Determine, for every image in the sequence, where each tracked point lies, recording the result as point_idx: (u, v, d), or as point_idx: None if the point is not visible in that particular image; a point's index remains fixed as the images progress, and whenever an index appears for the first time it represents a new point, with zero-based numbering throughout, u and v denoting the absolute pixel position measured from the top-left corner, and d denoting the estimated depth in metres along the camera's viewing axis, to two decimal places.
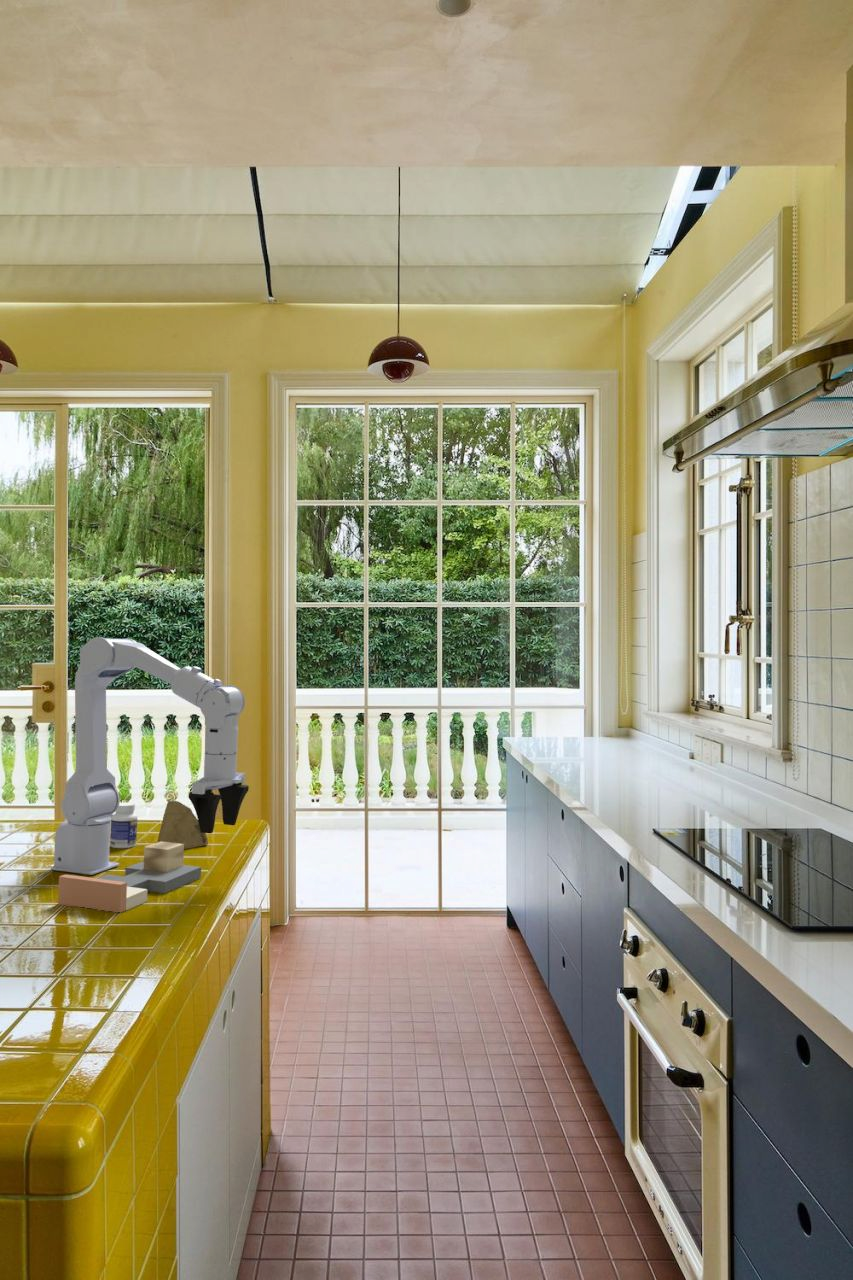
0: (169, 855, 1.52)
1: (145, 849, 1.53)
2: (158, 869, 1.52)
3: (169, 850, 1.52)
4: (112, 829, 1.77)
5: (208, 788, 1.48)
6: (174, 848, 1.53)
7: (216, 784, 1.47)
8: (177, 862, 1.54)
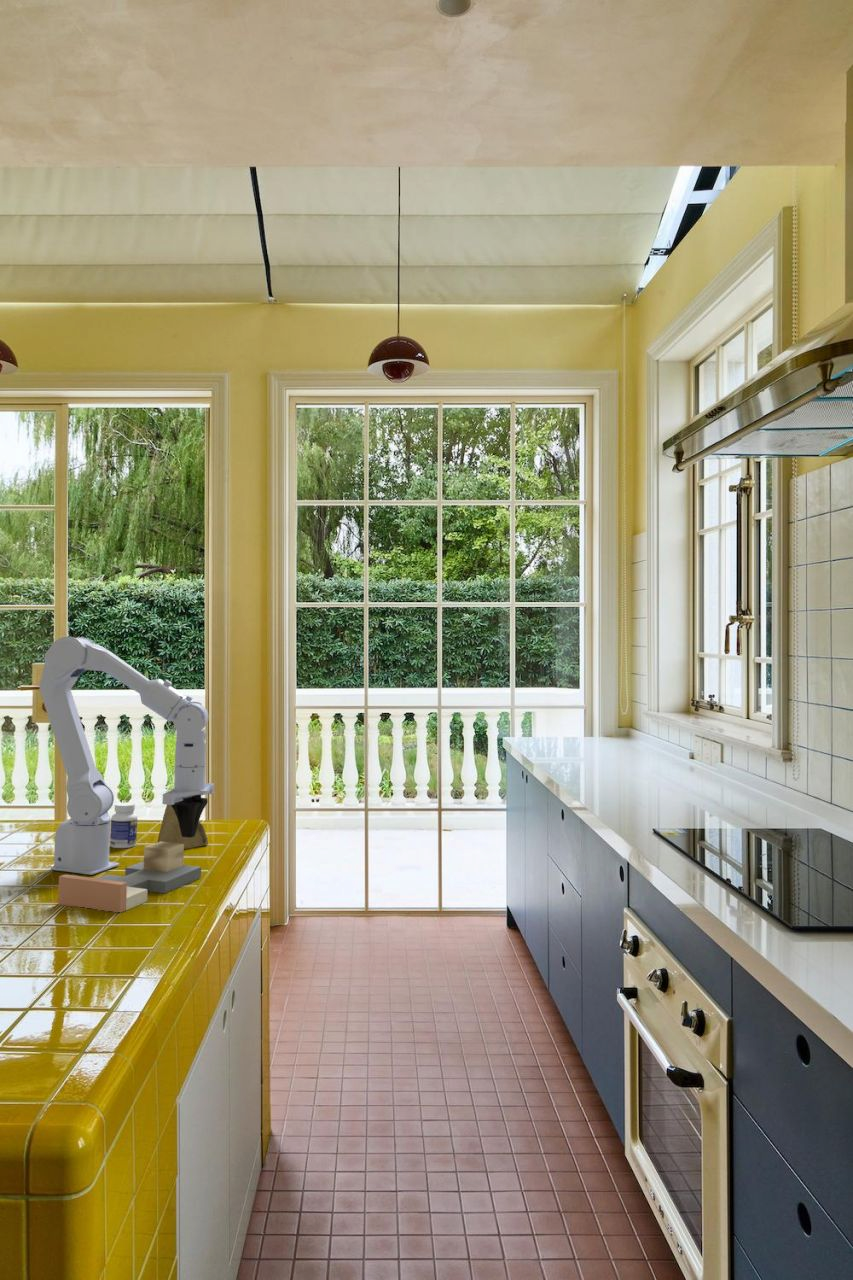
0: (169, 855, 1.52)
1: (145, 849, 1.53)
2: (158, 869, 1.52)
3: (169, 850, 1.52)
4: (112, 829, 1.77)
5: (178, 799, 1.58)
6: (174, 848, 1.53)
7: (185, 795, 1.57)
8: (177, 862, 1.54)
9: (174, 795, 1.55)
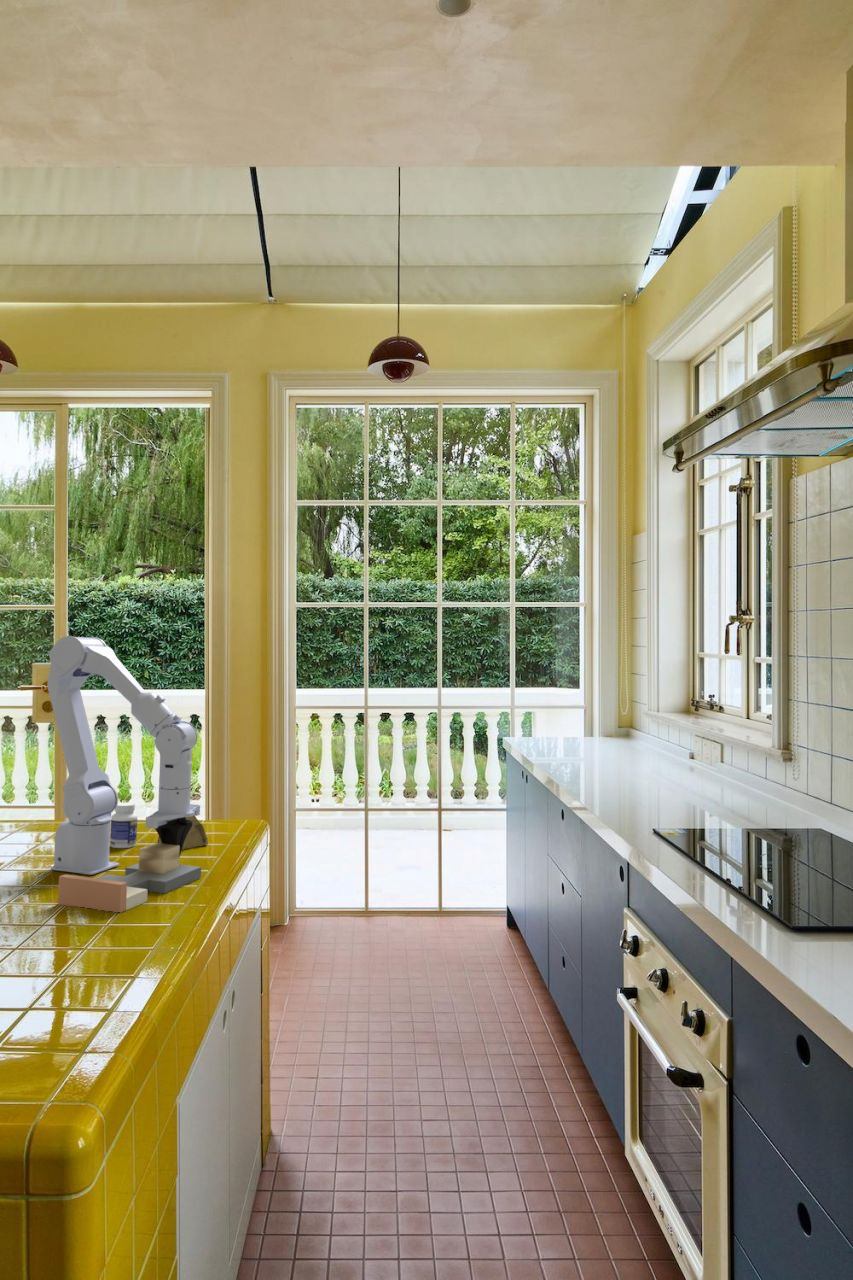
0: (164, 857, 1.50)
1: (140, 851, 1.52)
2: (153, 871, 1.51)
3: (164, 852, 1.51)
4: (112, 829, 1.77)
5: (161, 822, 1.53)
6: (170, 850, 1.52)
7: (169, 818, 1.53)
8: (172, 864, 1.53)
9: (157, 818, 1.51)
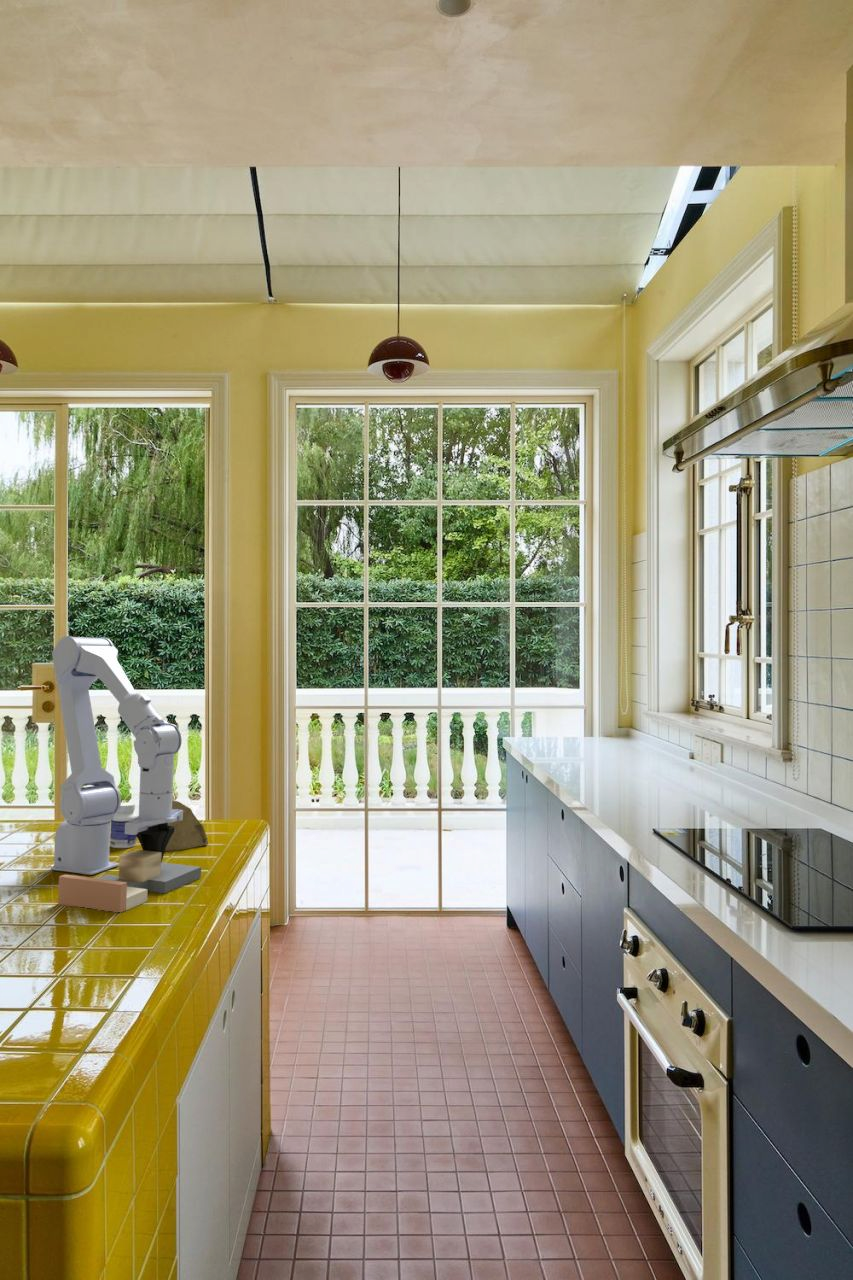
0: (145, 865, 1.45)
1: (120, 858, 1.46)
2: (134, 879, 1.45)
3: (145, 859, 1.45)
4: (112, 829, 1.77)
5: (141, 828, 1.48)
6: (151, 857, 1.47)
7: (149, 824, 1.47)
8: (154, 872, 1.47)
9: (137, 824, 1.45)
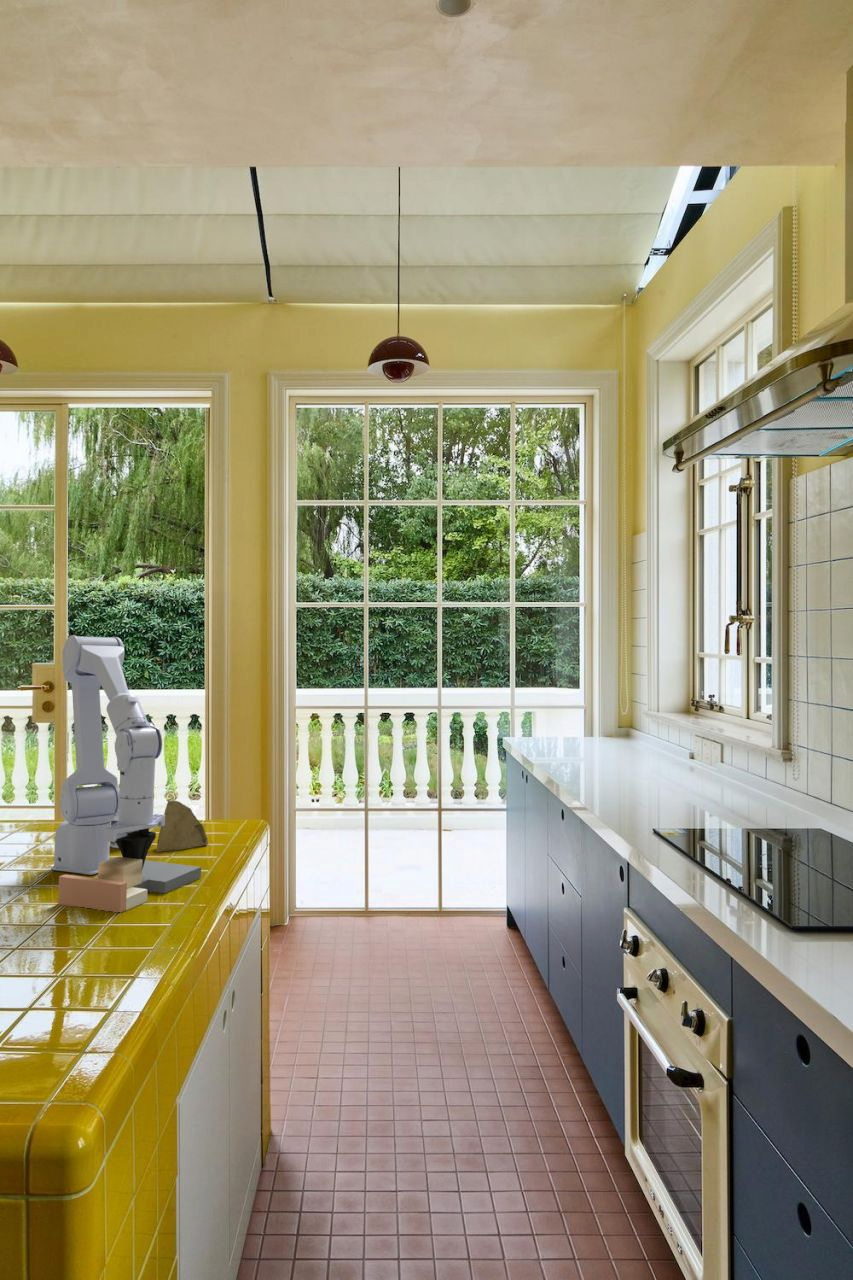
0: (125, 873, 1.40)
1: (99, 865, 1.41)
2: None
3: (125, 867, 1.40)
4: None
5: (121, 834, 1.42)
6: (131, 864, 1.41)
7: (129, 830, 1.42)
8: (134, 880, 1.42)
9: (116, 830, 1.40)
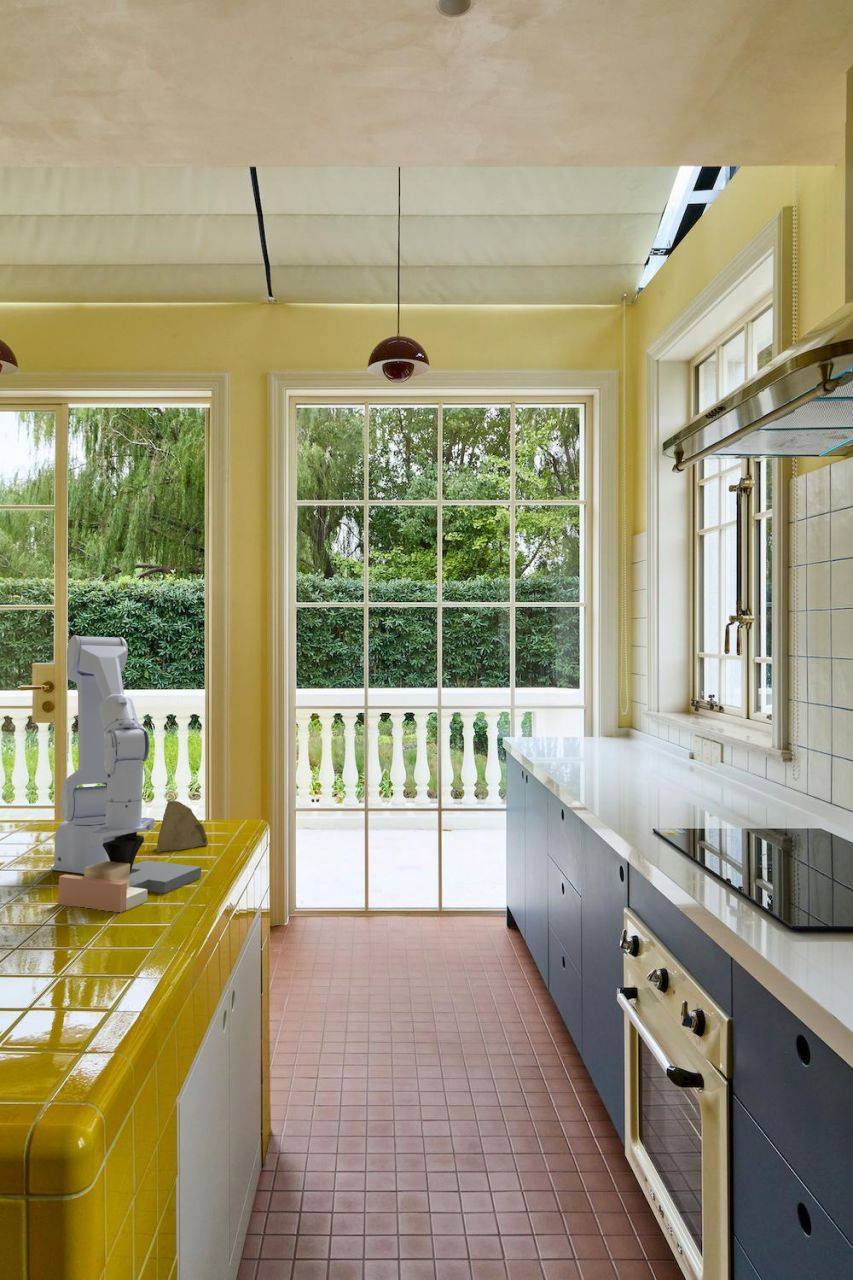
0: (111, 877, 1.36)
1: (86, 870, 1.38)
2: None
3: (112, 871, 1.37)
4: None
5: (108, 838, 1.39)
6: (118, 869, 1.38)
7: (116, 834, 1.39)
8: None
9: (103, 834, 1.37)
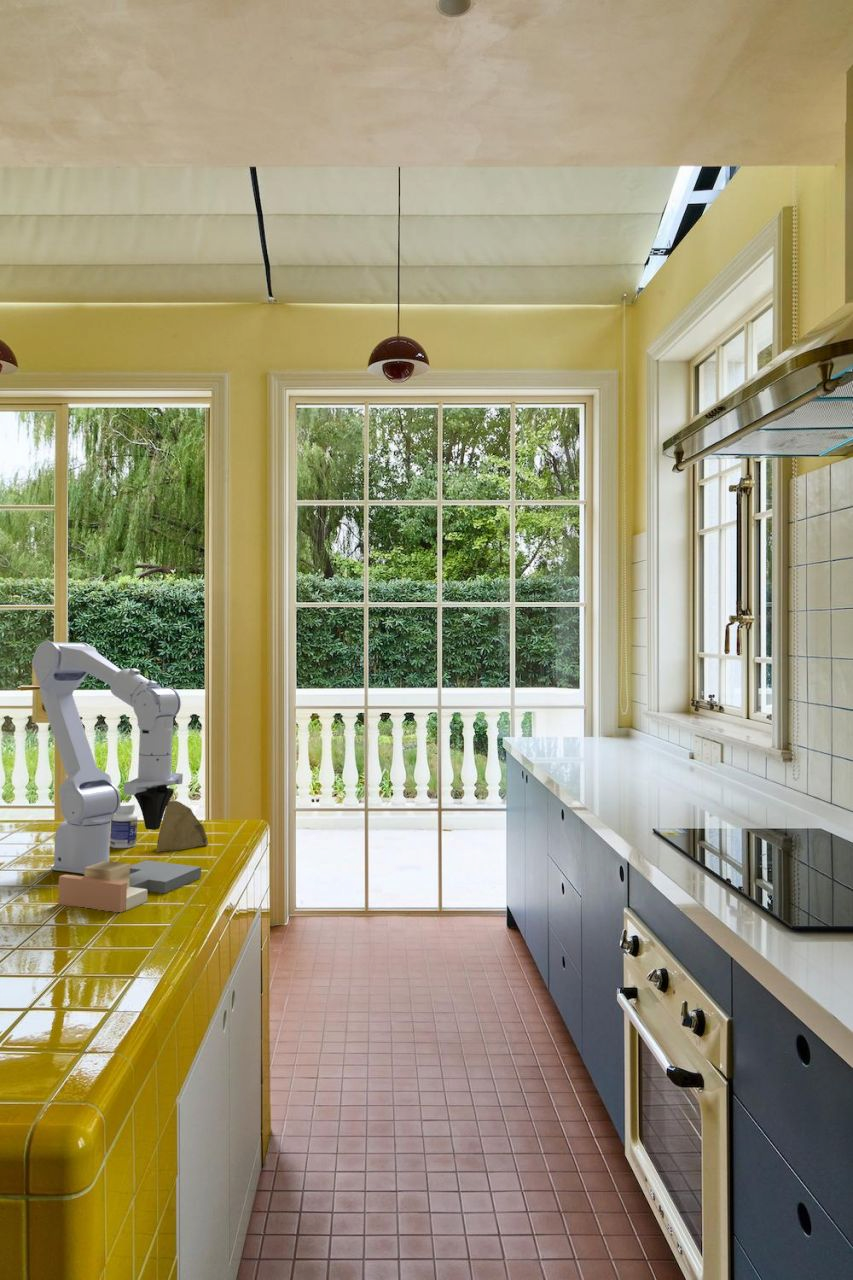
0: (111, 877, 1.36)
1: (86, 870, 1.38)
2: None
3: (112, 871, 1.37)
4: (112, 829, 1.77)
5: (140, 789, 1.49)
6: (118, 869, 1.38)
7: (148, 785, 1.49)
8: None
9: (136, 785, 1.47)
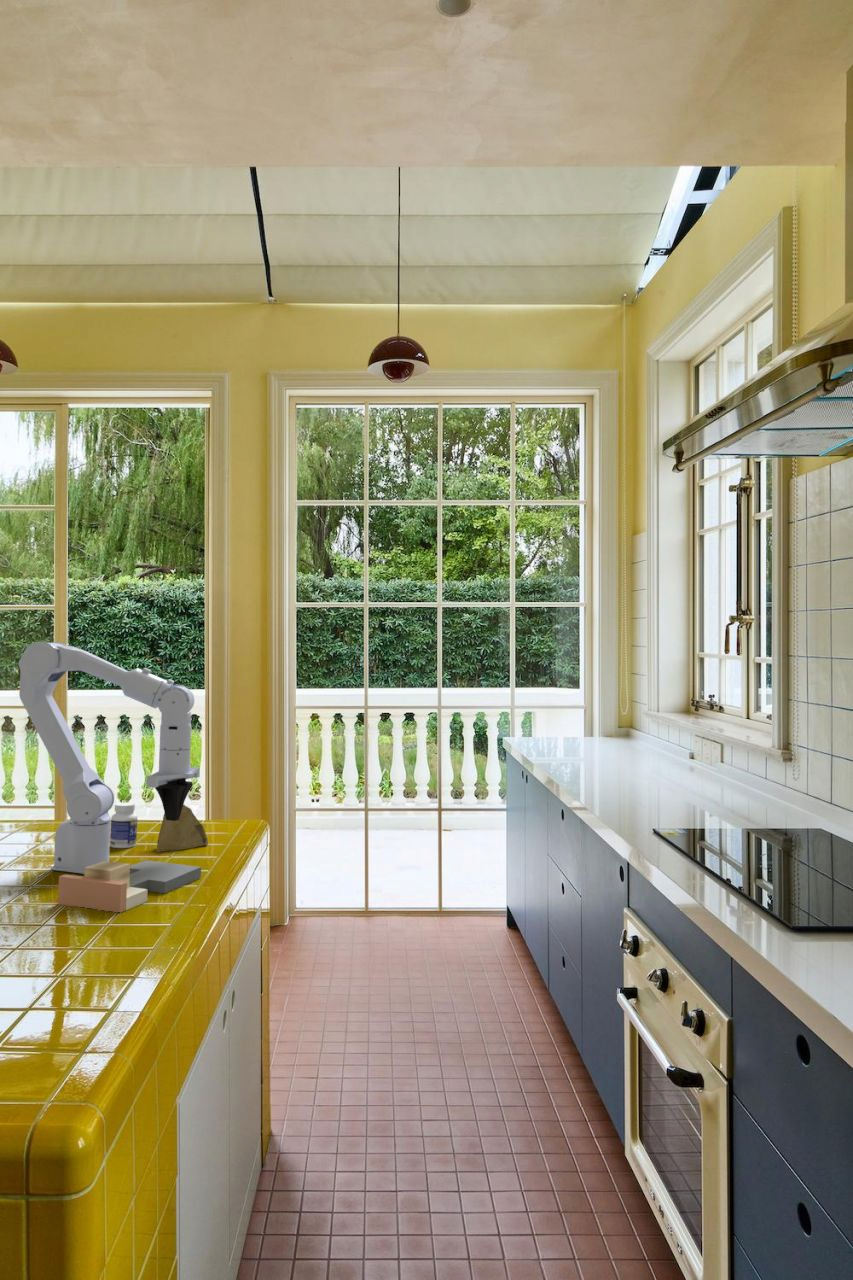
0: (111, 877, 1.36)
1: (86, 870, 1.38)
2: None
3: (112, 871, 1.37)
4: (112, 829, 1.77)
5: (162, 781, 1.57)
6: (118, 869, 1.38)
7: (169, 778, 1.57)
8: None
9: (158, 777, 1.55)
